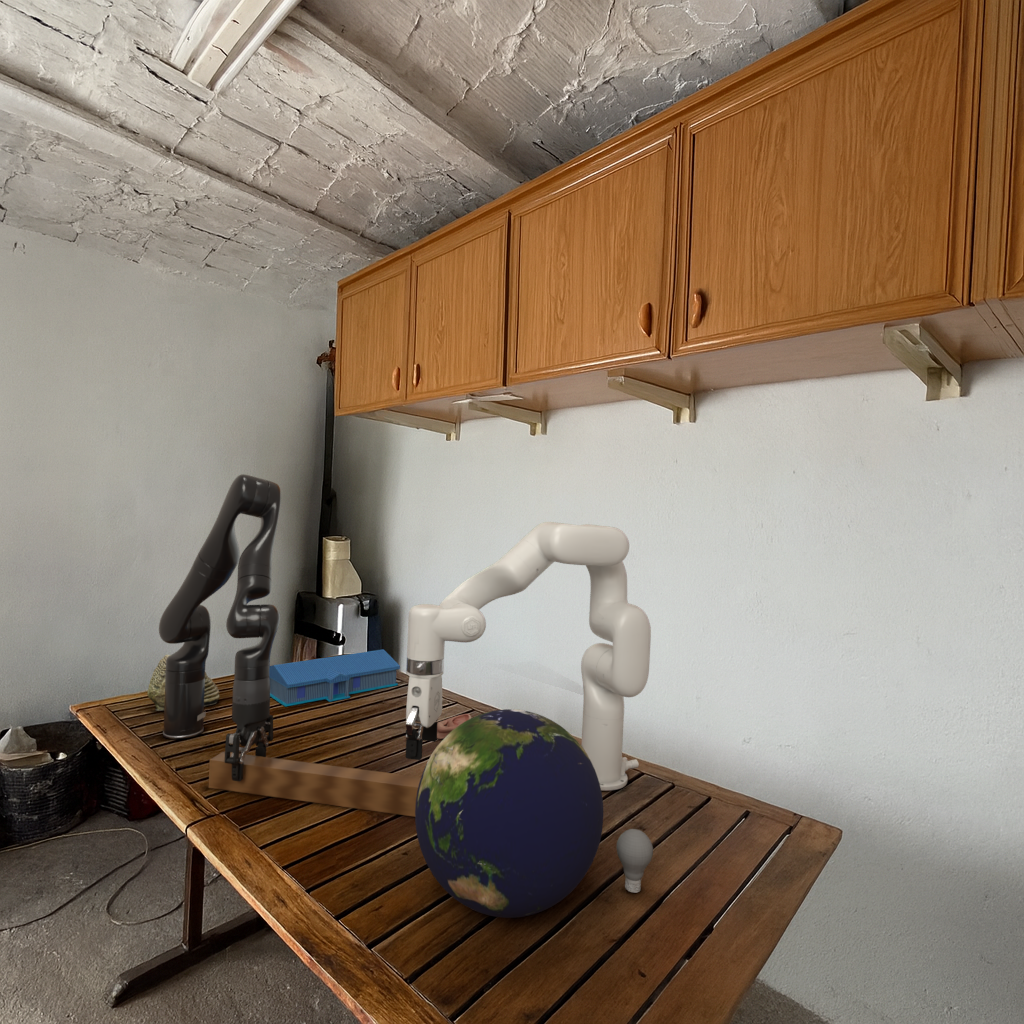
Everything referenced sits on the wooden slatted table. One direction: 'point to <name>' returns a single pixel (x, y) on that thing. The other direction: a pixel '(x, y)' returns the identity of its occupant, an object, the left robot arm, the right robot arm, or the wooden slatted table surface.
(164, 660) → the fossil
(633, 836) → the light bulb
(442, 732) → the anatomical model
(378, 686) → the model building
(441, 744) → the globe
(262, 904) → the wooden slatted table surface
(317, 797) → the post
